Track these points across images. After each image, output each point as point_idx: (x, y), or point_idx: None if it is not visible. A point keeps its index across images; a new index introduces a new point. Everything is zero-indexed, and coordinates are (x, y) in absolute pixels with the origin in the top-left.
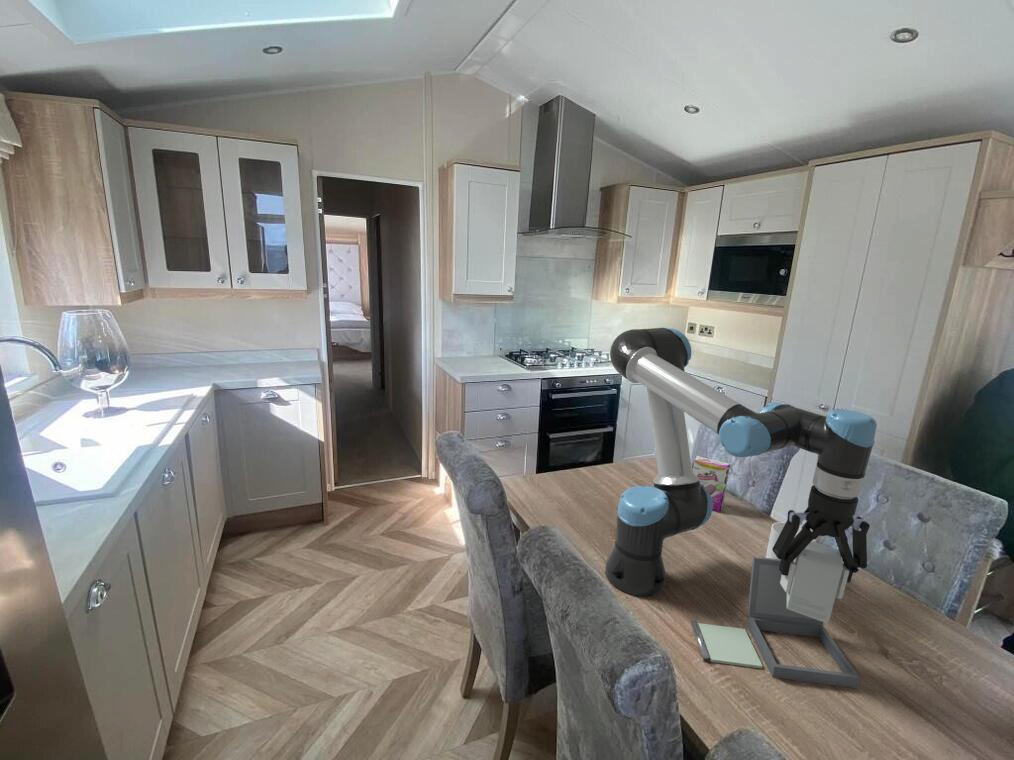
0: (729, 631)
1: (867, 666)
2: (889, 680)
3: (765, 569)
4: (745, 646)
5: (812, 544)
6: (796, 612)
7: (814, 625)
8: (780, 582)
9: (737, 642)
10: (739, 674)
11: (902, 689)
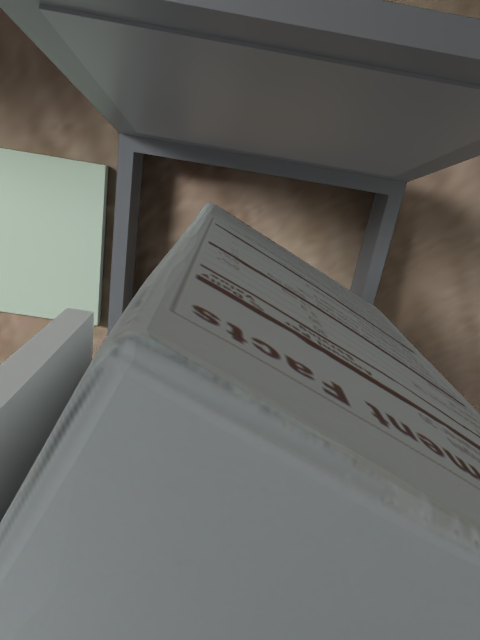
0: (41, 179)
1: (438, 311)
2: (457, 356)
3: (105, 39)
4: (74, 249)
5: (306, 598)
6: (310, 157)
7: (370, 182)
8: (63, 315)
9: (52, 232)
10: (23, 341)
11: (465, 382)
